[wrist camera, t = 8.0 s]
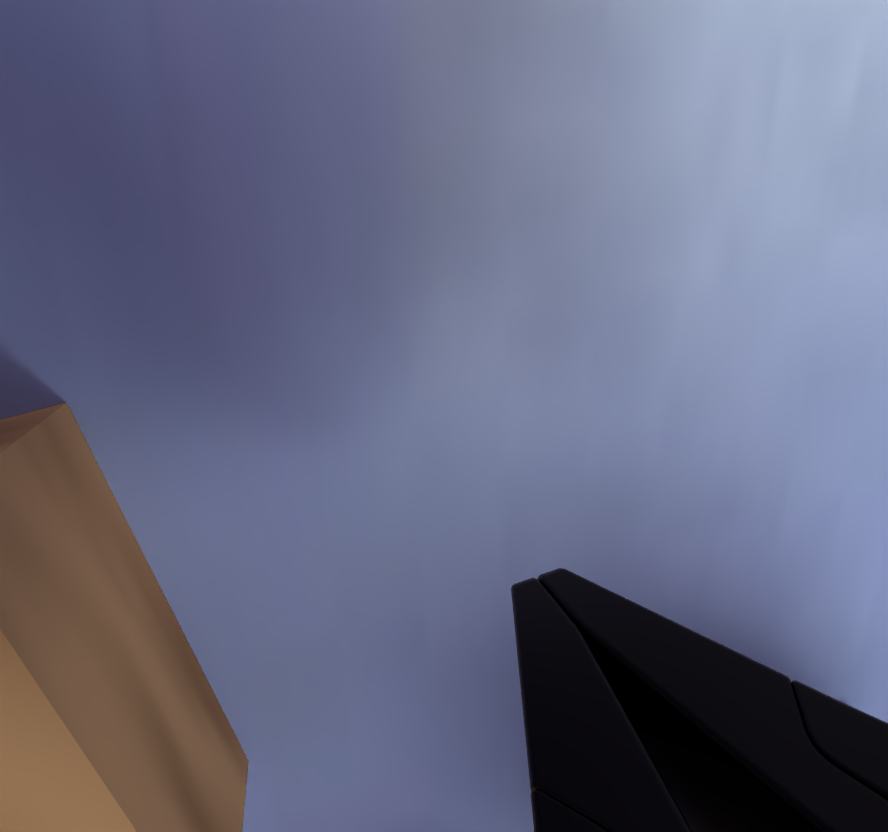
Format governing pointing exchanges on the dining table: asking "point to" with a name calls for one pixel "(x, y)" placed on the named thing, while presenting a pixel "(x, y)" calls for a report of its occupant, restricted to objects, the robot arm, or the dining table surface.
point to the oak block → (96, 660)
